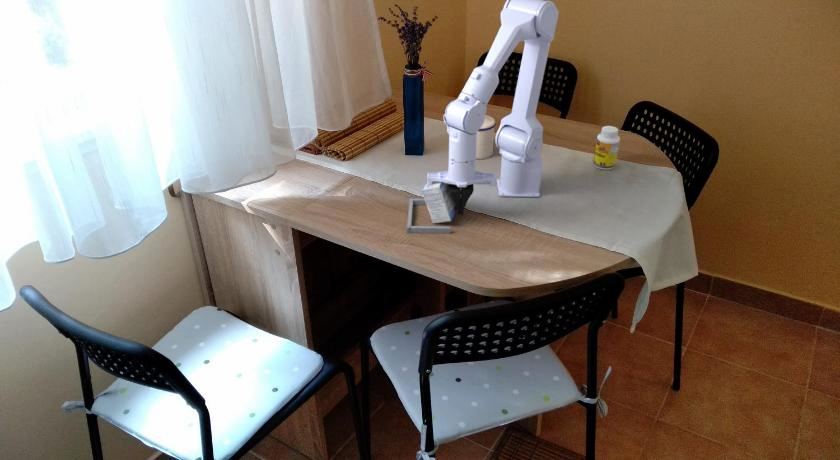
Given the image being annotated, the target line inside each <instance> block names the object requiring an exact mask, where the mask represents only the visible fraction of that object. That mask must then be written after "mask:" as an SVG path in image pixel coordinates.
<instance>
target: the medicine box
mask: <svg viewBox="0 0 840 460" xmlns="http://www.w3.org/2000/svg"><path fill="white" fill-rule="evenodd" d="M421 194H422V196H423V199H425V202H426V205H425V206H426V207H427V210H428V213H429V216H430V218H431V222H432V224H440V223H447V222H452V220H453V218H454V216H455V215H456V212H457V207H456V204H455V201H454V199H453V197H452V195H451V193H450V190H449V184H445V183H443V182H436V183H433V184H432V185H427V182H426V184H424V185H423V188H422V189H421Z"/></svg>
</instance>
